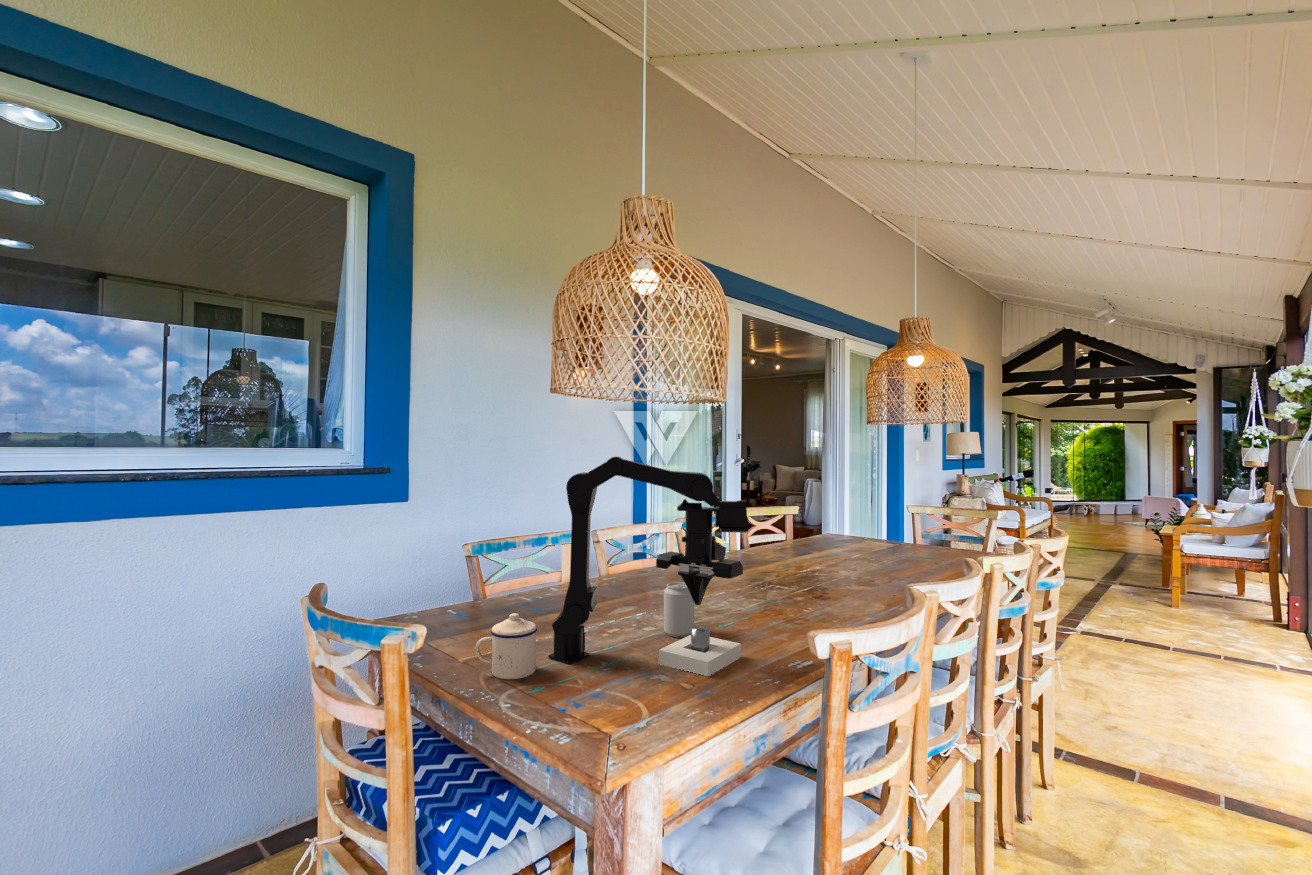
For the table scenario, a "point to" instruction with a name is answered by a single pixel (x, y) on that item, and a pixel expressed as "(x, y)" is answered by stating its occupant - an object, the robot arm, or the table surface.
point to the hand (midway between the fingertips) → (697, 604)
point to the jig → (700, 656)
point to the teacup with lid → (511, 648)
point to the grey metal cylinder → (700, 638)
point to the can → (678, 610)
